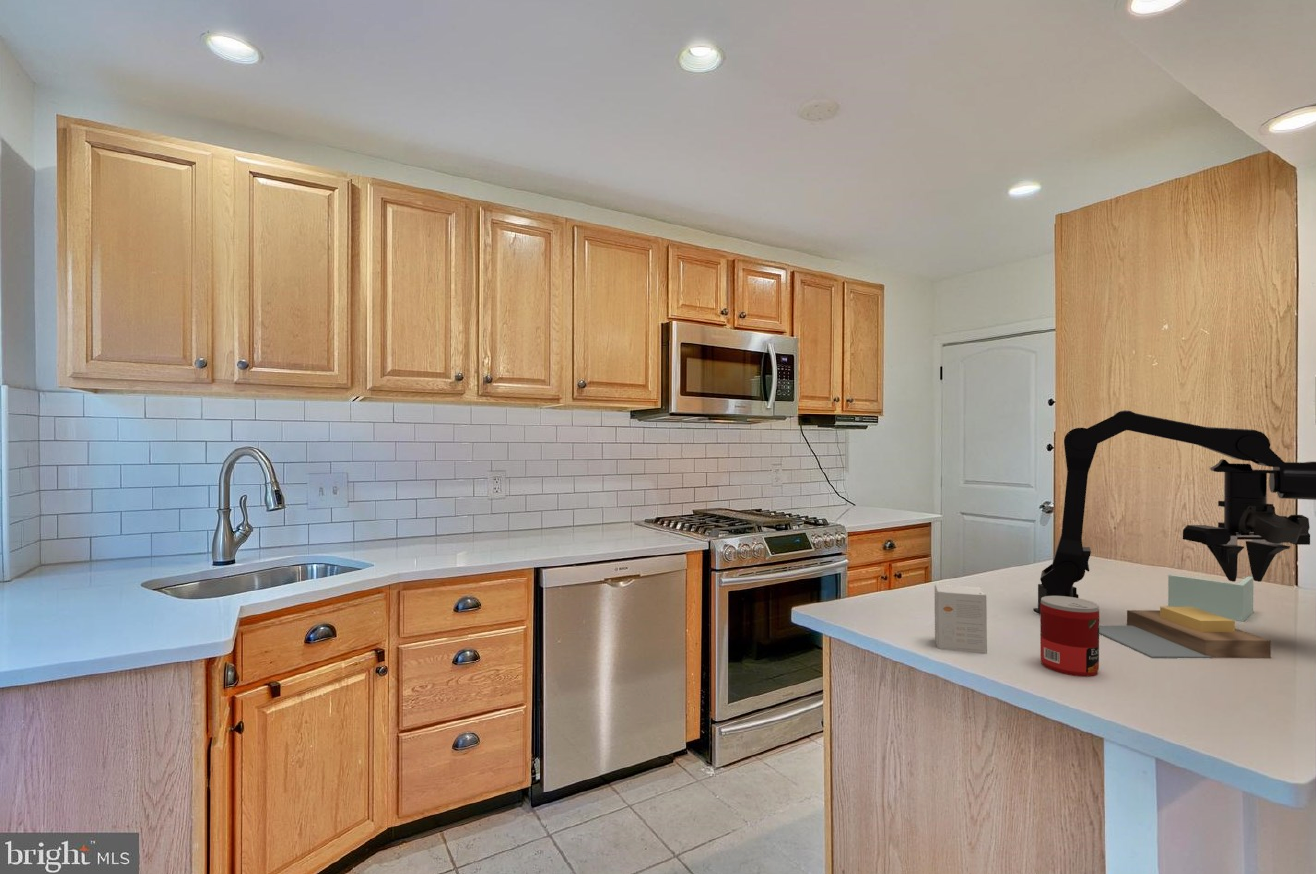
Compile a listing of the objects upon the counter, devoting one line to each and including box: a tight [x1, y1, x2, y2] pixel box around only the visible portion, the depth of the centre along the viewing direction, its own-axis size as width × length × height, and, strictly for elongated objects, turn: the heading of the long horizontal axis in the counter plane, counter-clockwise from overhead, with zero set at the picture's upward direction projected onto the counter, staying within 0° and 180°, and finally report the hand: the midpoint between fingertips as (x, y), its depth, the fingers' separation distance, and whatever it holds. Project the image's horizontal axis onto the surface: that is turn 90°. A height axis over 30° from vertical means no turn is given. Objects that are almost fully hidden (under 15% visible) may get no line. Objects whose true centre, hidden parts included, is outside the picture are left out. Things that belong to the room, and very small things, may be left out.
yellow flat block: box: [1159, 606, 1236, 632], centre depth 115 cm, size 6×9×2 cm, turn 179°
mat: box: [1099, 625, 1212, 659], centre depth 114 cm, size 10×17×1 cm, turn 179°
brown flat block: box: [1126, 609, 1272, 659], centre depth 115 cm, size 11×18×3 cm, turn 179°
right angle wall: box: [1167, 574, 1254, 623], centre depth 134 cm, size 12×12×8 cm
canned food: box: [1039, 596, 1100, 677], centre depth 101 cm, size 8×8×11 cm
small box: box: [934, 584, 988, 654], centre depth 111 cm, size 8×6×10 cm
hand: (1244, 581), depth 114 cm, fingers open, 4 cm apart
